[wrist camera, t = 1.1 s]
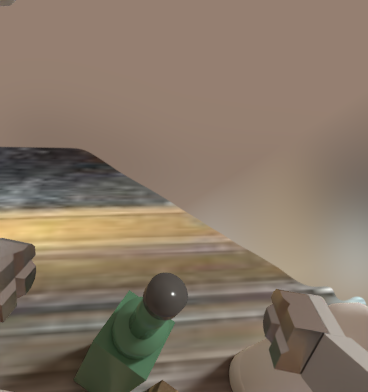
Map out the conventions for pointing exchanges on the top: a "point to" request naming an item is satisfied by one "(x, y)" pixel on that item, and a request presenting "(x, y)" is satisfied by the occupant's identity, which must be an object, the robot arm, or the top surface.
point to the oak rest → (162, 387)
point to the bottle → (286, 381)
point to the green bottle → (133, 337)
